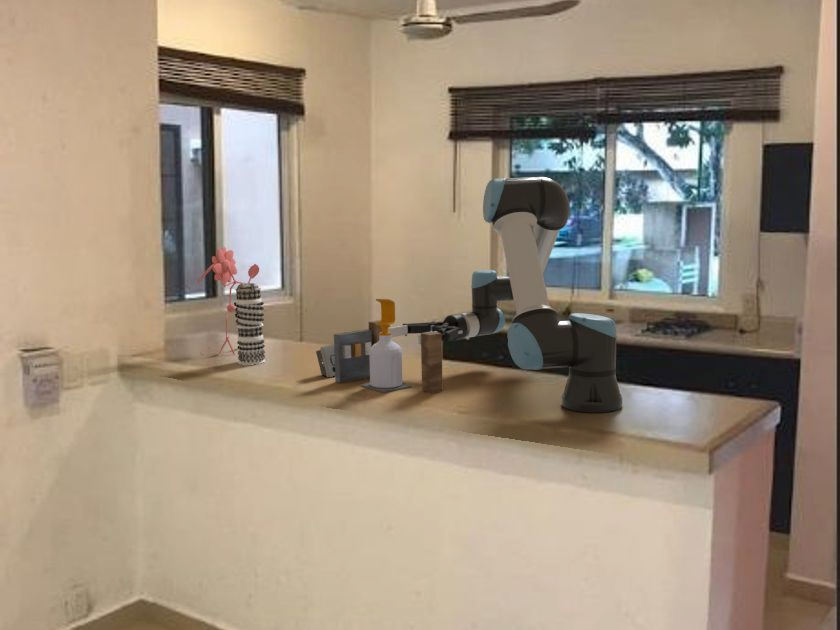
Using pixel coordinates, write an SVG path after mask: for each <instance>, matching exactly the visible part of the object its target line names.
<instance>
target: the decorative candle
mask: <svg viewBox="0 0 840 630" xmlns="http://www.w3.org/2000/svg"><path fill="white" fill-rule="evenodd" d="M244 283H245V284H240V283H239V284H238V285H237V288H235V289H234V290H235V292H236V294H235V296H236V299H235V302H233V305H234V306H235V311H234V312H235V314H234V317H235V318H236V320H235V323H236V328H237V329H238V330H237V333H238V335H237V342H236V343H237V345H238V346H237V349H238V351H237V355H238V357H237V360H238V361H237V363H238V364H239V365H241V364H242V365H243V366H253V365H252V364H258V365H260V364H259V363H262V364H264V363H266V356H265V353H266V350H265V349H264V348H265V346H266V345H265V344H264V343H265V339H264V333H263V327H264V326H265V325H264V323H262V322H263V321H265V318H263V316H264V315H265V314H264V313H263V312H262V311H263V310H264V309H265V308H264V307H263V305H264V304H265V303H264V301H262V297H261V295H262V293H261V289H262V288H261V287H259V285H258V284H257V283H253V282H252V283H251V282H250V283H248V282H247V283H246V282H244ZM264 345H265V346H264ZM263 362H264V363H263Z"/></svg>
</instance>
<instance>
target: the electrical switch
mask: <svg viewBox="0 0 840 630" xmlns="http://www.w3.org/2000/svg"><path fill="white" fill-rule="evenodd" d="M315 353H316V358H317V361H318V365H319V370H320V373H321V376H322V375H324V376H323V377H326V378H328V377H330V378H333V376H334V377H335V353H334V343H333V344H329V345H328V344H327V345H323V346H321V347H320V349H318V350H315Z"/></svg>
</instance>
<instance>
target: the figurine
mask: <svg viewBox="0 0 840 630" xmlns="http://www.w3.org/2000/svg"><path fill="white" fill-rule="evenodd" d="M211 262H212V264H211V265H210V266H209V267H208V268H207V269H206V271H204V273H203V274H202V275H201V276H200V277H199V279H198V280H197V283H200V282H201V280H203V279H204V278H205V277H206V276H207V274H209V272H210V271H213V272H214V273H215V274H214V276H213V277H214V278H213V279H214V280H215V281H220V282H221V284H222V285H223V287H224V288H226V287H229V286H230V285H231V286H230V287H229V300H228V301H229V304H227V306H226V311H227V312H226V317H225V341H224V343H222V346H221V345H220V350H219V352H218V354H219V355H220V354H221V352H222V350H223V349H224V348H225V346H226V344H227V343H228V345H229V348H230V350H231V353H232V354H233V355H236V353H235V350H234V348H233V346H232V344H231V342H230V339H229V338H230V335H228V315H229V313H233V312H235V309H236V306H234V303H233V304H232V303H231V301H232V300H231V299H232V289H233V288H234V286H235V285H236V284H239V285H240V284H245V283H246V282H242V281H237V280H236V279H235V276H236V275H237V274H238V270H237V267H236V260H235V258H234V250H232V249H230V250H229V249H228V251H227V248H226V247H225V246H224V247H222V248H220V247H218V248H217V251H216V256H214V255H213V256H212V257H211ZM247 273H248V277H249V280H248V282H247V283H251V280H252V279H255V277H256V276H258V274H259V273H260V267H259V265H257V264H256V263H254V264H253V265H251V266H250V268H248V271H247ZM234 275H235V276H234ZM232 280H233V281H232ZM263 345H264V346H266V345H265V344H263ZM218 348H219V346H217V347H216V346H215V347H211V348H207V349H206V350H204V351H201V354H202V355H203V353H204V352H206V351H209V350H212V349H218Z"/></svg>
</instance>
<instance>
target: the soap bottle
mask: <svg viewBox="0 0 840 630" xmlns="http://www.w3.org/2000/svg"><path fill="white" fill-rule="evenodd" d="M375 301H377V302H379V303H380V310H381V311H380V314H381V316H380V317H381V318H380V320H381V321H380V322H377V323H376V325H380V328H382V332H380V333H379V341H378V342H377V343H375V344H374V345H373V346H372V347H371V348H370V351H369V359H370V378H369V383H370V385H371V386H373V387H376V388H395V387H399V386H400V385H402V383H403V352H402V350H403V349H402V348H401V346H400V345H399V344H398V343H396V342H394V341H393V340H392V337H391V332H388V328H391V325H393V324H395V323H396V303H395V301H393V300H392V299H389V298H375Z"/></svg>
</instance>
